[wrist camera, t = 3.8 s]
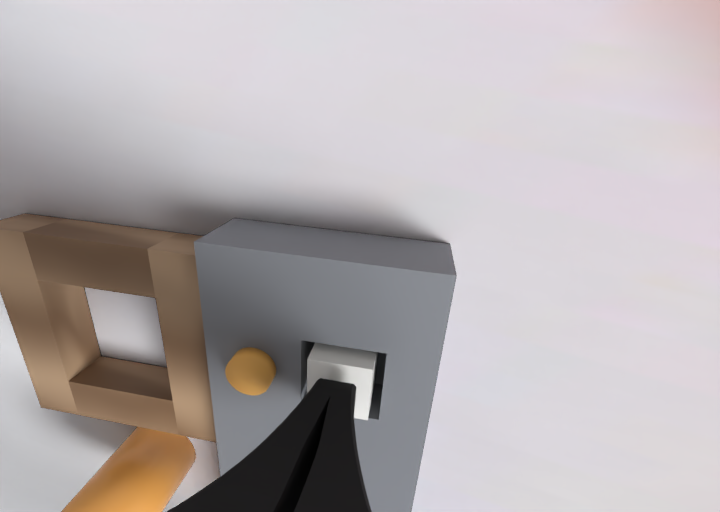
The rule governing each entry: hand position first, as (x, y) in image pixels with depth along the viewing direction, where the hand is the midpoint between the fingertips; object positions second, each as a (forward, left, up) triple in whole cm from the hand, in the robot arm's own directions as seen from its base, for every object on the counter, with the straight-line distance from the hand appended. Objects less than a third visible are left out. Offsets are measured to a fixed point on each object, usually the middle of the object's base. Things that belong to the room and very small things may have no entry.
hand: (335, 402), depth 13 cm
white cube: (0, 0, -3) cm, 3 cm away
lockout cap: (-10, +11, -4) cm, 15 cm away
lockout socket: (-1, +11, -4) cm, 12 cm away
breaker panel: (-5, +1, -4) cm, 6 cm away
